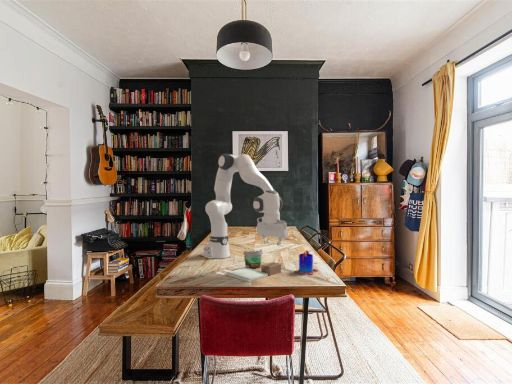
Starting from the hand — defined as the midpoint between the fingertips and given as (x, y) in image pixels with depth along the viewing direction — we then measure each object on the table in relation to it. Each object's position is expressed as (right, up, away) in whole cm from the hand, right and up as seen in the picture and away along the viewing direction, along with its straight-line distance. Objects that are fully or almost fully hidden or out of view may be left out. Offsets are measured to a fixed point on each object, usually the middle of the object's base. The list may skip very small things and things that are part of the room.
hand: (272, 244), depth 173 cm
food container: (-10, -16, +11) cm, 21 cm away
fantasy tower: (+19, -16, +3) cm, 25 cm away
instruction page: (-27, -16, +1) cm, 31 cm away
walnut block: (-1, -16, 0) cm, 16 cm away
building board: (-14, -16, -5) cm, 22 cm away
